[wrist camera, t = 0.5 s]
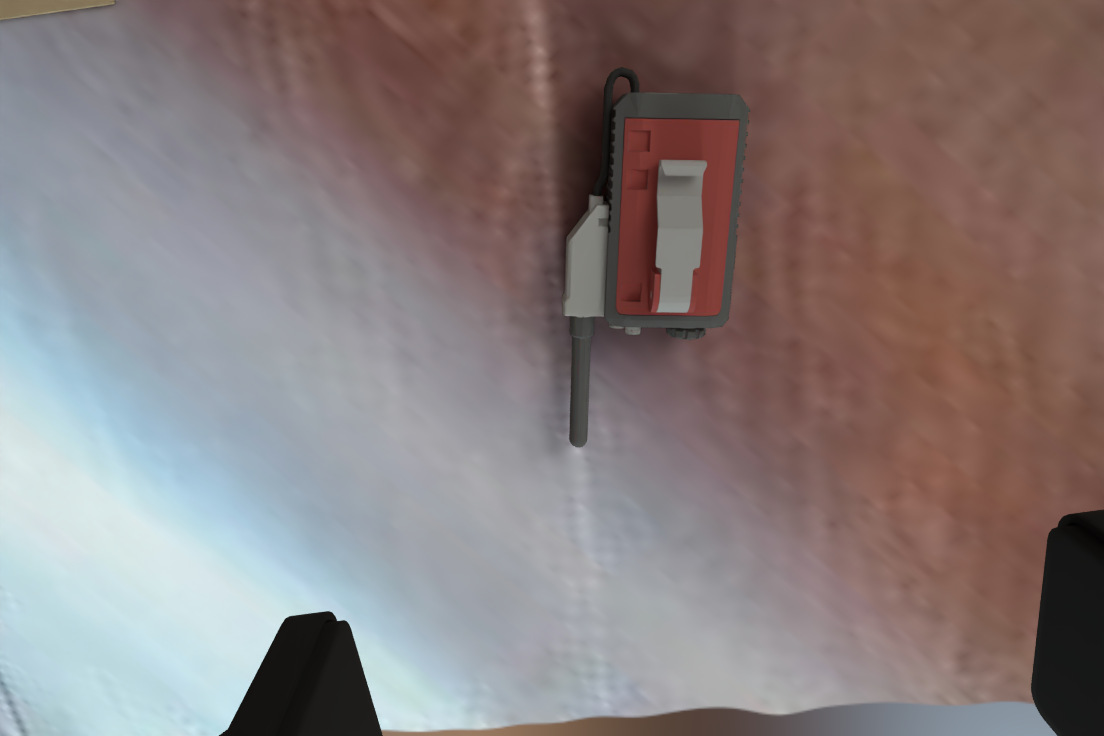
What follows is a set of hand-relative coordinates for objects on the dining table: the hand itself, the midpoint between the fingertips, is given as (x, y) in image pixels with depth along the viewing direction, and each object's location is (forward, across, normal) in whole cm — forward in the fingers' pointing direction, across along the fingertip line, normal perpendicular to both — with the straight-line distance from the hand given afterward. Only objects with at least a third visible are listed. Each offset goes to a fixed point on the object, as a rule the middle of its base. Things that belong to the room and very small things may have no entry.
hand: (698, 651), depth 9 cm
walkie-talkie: (+30, -3, +2) cm, 30 cm away
